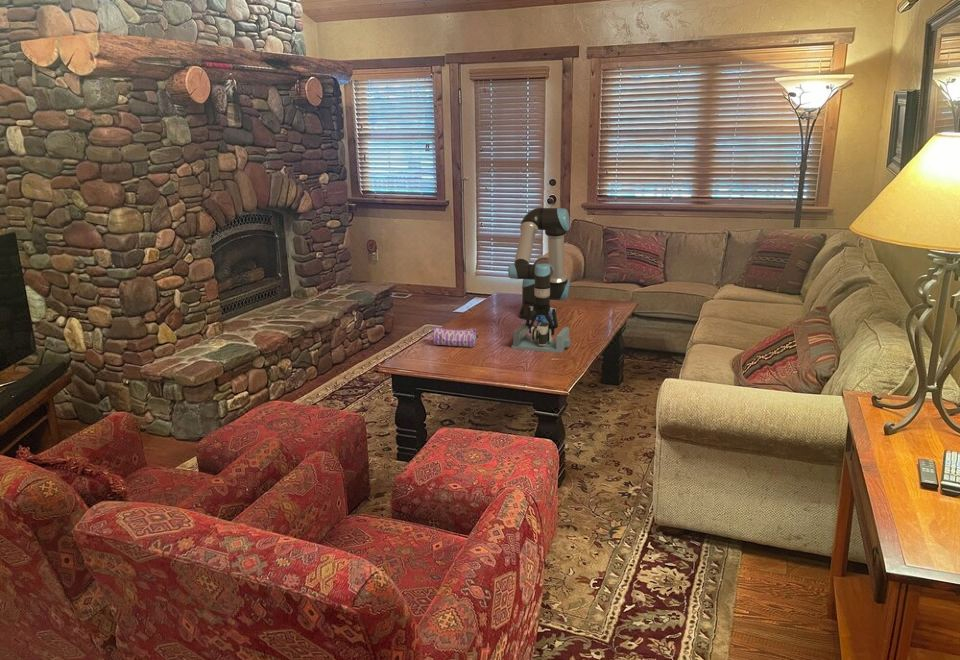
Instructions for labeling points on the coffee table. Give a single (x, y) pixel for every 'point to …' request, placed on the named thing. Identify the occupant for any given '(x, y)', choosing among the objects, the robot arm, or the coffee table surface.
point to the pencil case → (454, 337)
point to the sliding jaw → (520, 334)
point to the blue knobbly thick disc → (543, 318)
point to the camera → (541, 333)
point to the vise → (554, 346)
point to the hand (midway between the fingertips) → (541, 340)
